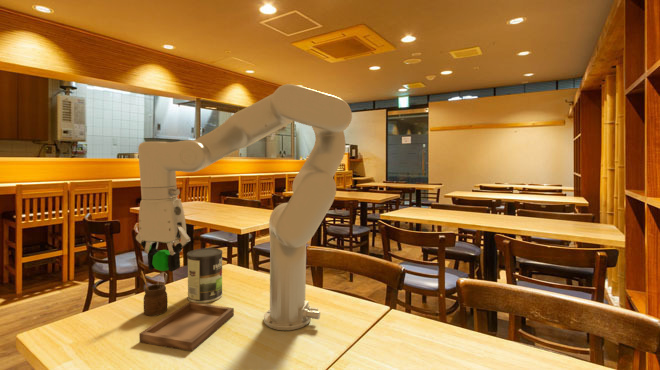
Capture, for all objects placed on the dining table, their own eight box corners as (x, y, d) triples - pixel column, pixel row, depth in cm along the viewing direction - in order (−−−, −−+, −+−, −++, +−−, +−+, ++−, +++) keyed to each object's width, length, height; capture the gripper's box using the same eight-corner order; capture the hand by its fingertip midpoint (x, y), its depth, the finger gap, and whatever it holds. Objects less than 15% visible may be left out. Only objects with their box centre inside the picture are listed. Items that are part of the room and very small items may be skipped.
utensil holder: (168, 313, 92) (168, 271, 91) (142, 318, 89) (141, 274, 88) (166, 305, 97) (166, 265, 97) (142, 309, 94) (141, 268, 93)
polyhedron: (161, 266, 83) (159, 247, 83) (179, 266, 83) (178, 247, 82) (148, 273, 78) (146, 253, 78) (168, 273, 78) (166, 253, 78)
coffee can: (227, 290, 109) (227, 248, 108) (215, 303, 99) (215, 257, 98) (195, 289, 110) (195, 247, 108) (181, 303, 99) (180, 256, 98)
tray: (233, 315, 92) (233, 308, 92) (191, 351, 75) (191, 342, 74) (189, 309, 95) (189, 301, 95) (139, 342, 78) (139, 333, 78)
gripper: (200, 192, 80) (204, 266, 82) (142, 192, 85) (147, 261, 87) (179, 196, 73) (184, 277, 75) (117, 195, 78) (122, 271, 79)
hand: (164, 268), depth 81 cm, fingers closed on polyhedron, 5 cm apart
